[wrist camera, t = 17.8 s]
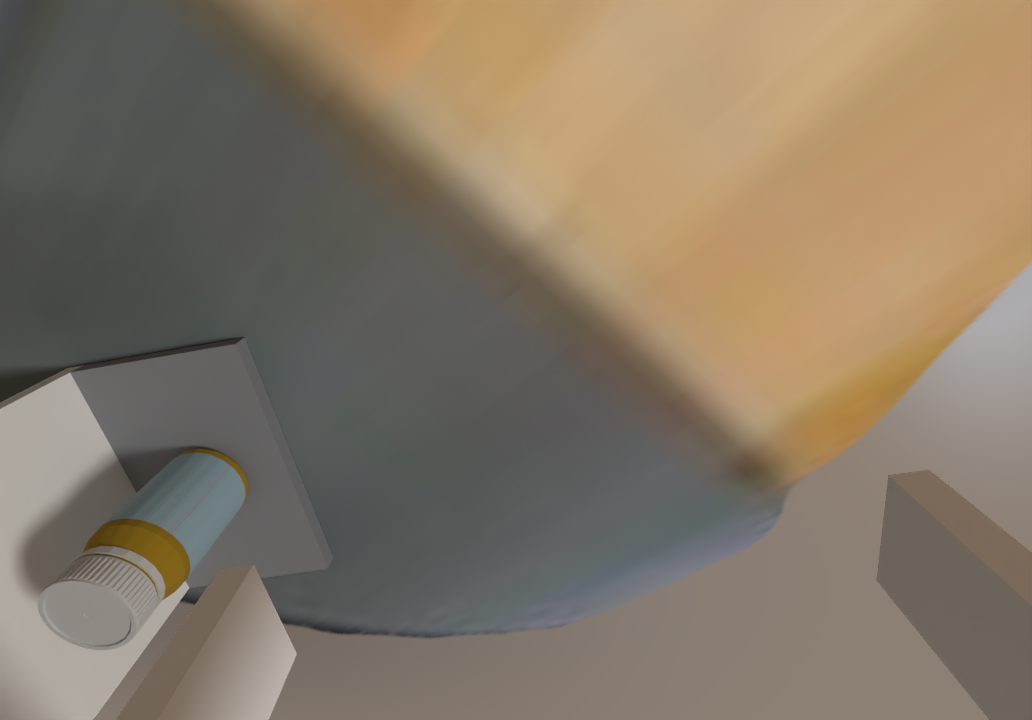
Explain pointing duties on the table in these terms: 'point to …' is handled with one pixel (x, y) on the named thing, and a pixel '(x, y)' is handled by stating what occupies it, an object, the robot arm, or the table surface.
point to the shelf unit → (113, 482)
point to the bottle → (144, 551)
